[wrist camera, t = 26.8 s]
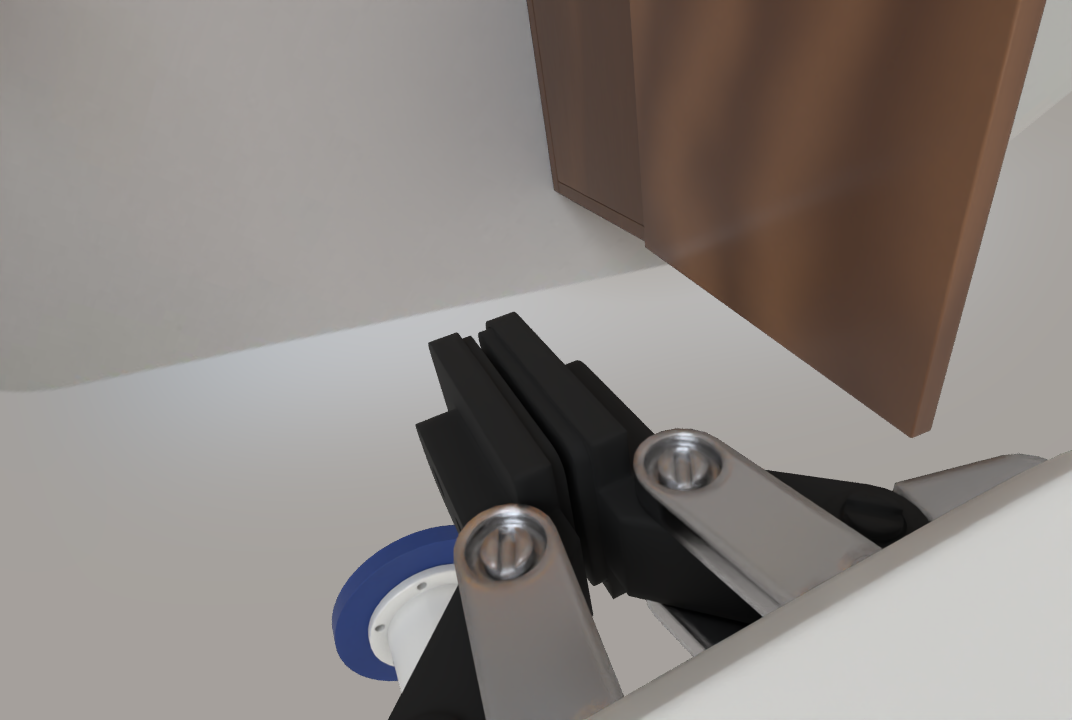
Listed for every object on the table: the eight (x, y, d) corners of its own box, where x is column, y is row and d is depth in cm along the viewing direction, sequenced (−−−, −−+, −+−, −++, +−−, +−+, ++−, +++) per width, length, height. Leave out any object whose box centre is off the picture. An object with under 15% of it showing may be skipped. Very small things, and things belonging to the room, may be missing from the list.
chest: (754, -107, 39) (923, -141, 30) (746, 130, 47) (876, 161, 38) (517, -62, 35) (626, -85, 25) (553, 190, 43) (646, 242, 34)
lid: (1099, -190, 11) (1065, -183, 11) (931, 431, 19) (910, 439, 19) (641, -88, 25) (623, -85, 25) (657, 243, 33) (644, 247, 33)
